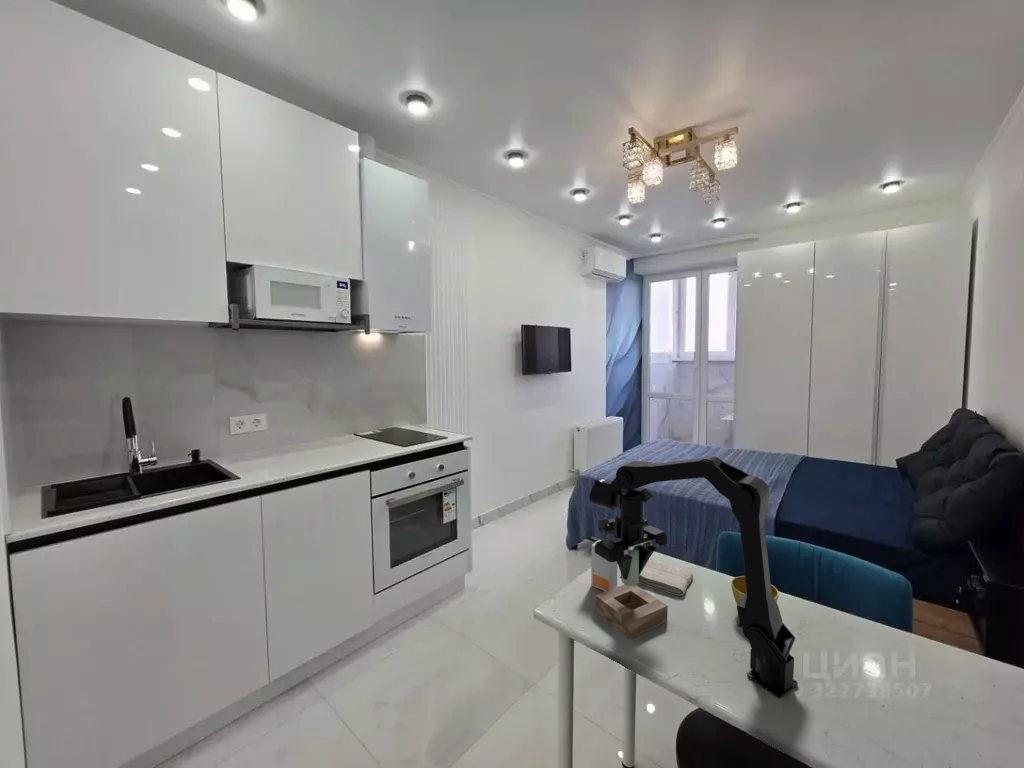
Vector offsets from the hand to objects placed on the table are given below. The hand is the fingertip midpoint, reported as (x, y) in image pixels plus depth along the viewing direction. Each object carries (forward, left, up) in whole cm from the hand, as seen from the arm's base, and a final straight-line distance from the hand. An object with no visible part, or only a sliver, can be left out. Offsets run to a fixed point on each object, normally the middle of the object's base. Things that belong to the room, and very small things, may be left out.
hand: (631, 576), depth 104 cm
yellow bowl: (-15, -26, -10) cm, 32 cm away
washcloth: (+9, -19, -11) cm, 24 cm away
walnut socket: (0, 0, -10) cm, 10 cm away
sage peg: (+1, 0, -2) cm, 2 cm away
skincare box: (+13, -3, -10) cm, 17 cm away
